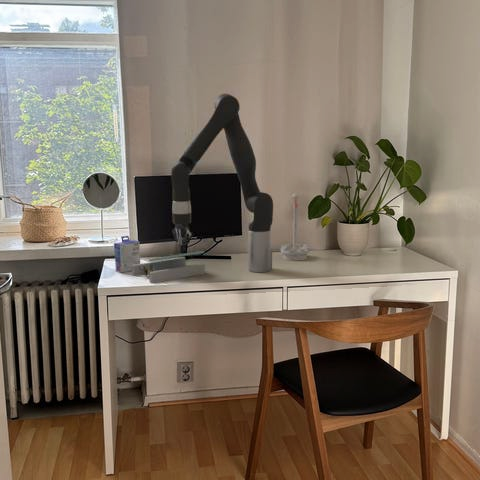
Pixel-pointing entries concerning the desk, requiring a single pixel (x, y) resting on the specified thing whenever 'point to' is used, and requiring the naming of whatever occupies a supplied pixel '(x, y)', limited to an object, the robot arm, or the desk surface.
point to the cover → (176, 255)
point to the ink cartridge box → (126, 254)
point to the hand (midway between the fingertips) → (182, 253)
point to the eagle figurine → (148, 270)
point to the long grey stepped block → (169, 269)
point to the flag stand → (294, 241)
